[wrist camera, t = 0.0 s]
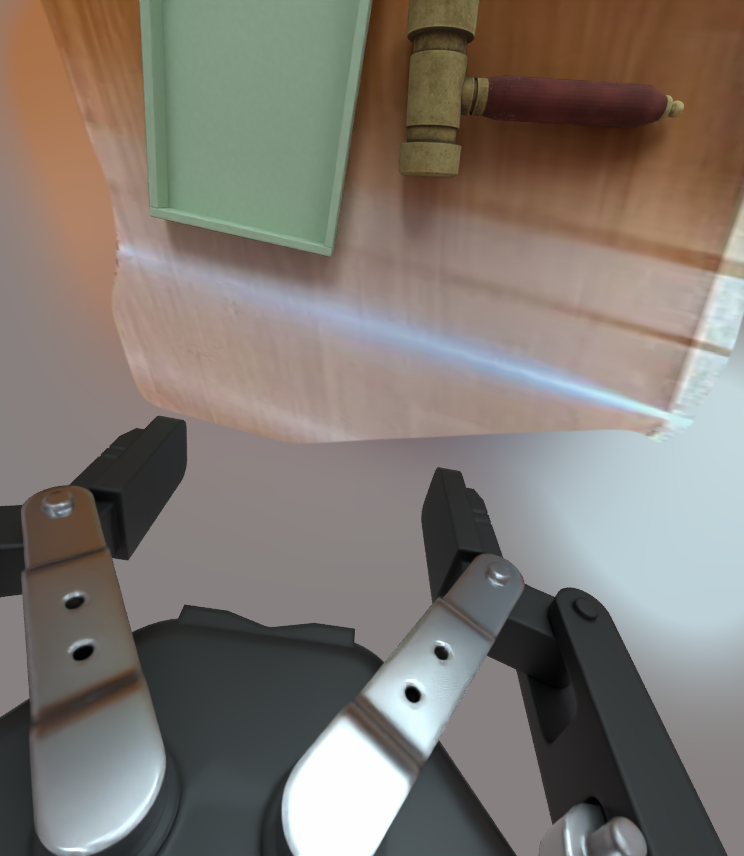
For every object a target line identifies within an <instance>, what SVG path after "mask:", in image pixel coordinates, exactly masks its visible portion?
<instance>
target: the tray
mask: <svg viewBox="0 0 744 856" xmlns="http://www.w3.org/2000/svg"><path fill="white" fill-rule="evenodd" d="M372 1H373V0H139V3H140V23H141V43H142V64H143V84H144V105H145V125H146V145H147V166H148V186H149V206H150V216H152V217H156V218H161V219H165V220H169V221H174V222H178V223H183V224H187V225H192V226H196V227H200V228H205V229H209V230H214V231H218V232H222V233H227V234H231V235H236V236H240V237H245V238H249V239H253V240H258V241H262V242H267V243H271V244H275V245H280V246H284V247H289V248H293V249H298V250H302V251H306V252H311V253H315V254H320V255H324V256H329V257H331V256H332V254H333V253H334V248H335V241H336V235H337V228H338V222H339V215H340V209H341V202H342V196H343V189H344V183H345V176H346V170H347V163H348V157H349V150H350V144H351V137H352V131H353V124H354V118H355V111H356V105H357V98H358V92H359V85H360V79H361V72H362V66H363V59H364V53H365V46H366V40H367V33H368V27H369V20H370V14H371V7H372Z"/></svg>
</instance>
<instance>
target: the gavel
mask: <svg viewBox="0 0 744 856" xmlns="http://www.w3.org/2000/svg"><path fill="white" fill-rule="evenodd" d="M478 6H479V0H409V15H408V31H407V38H408V40H410V41H411V42H413V43H414V44H413V55H411V56H410V70H409V85H408V101H407V116H406V128H408V133H407V143H402V144H401V145H400V161H399V172H400V173H401V174H402V175H412V176H431V177H455V176H456V175H457V174H458V170H459V162H460V154H461V146H459V145H455V142H456V134H457V130H459V127H460V118H461V115H468V113H469V112H470V115H479V116H484V117H487V118H491V119H494V120H505V121H522V122H539V123H556V124H573V125H590V126H607V127H625V128H637V127H640V126H643V125H646V124H649V123H652V122H655V121H662V120H663V119H665V118H666V117H667V116H668V117H671V118H673V117H676V116H678V115H680V114H681V112H682V110H683V107H684V104H683V103H682V102H681V101H674V102H673V99H672V97H671V96H670V95H665V94H663V93H662V92H660V91H659V90H657V89H655V88H654V87H652V86H650V85H639V84H624V83H609V82H594V81H579V80H564V79H549V78H533V77H518V76H499V77H492V78H476V79H475V80H474V78H473V77H467V76H466V67H467V56H466V47H467V44H468V43H470V42H472V41H473V40H474V38H475V31H476V23H477V15H478Z"/></svg>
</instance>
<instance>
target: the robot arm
mask: <svg viewBox="0 0 744 856" xmlns="http://www.w3.org/2000/svg"><path fill="white" fill-rule="evenodd" d="M186 430H187V429H186V422H185V421H184V420H180V419H174V418H169V417H164V416H157V417H156V418H155V419H154V420H153V421H152V422H151V423H150V424H149V425H148V426H147V427H146V428H145V429H139V428H136V429H134V430H131V431H129V432H127V433H125V434H123V435H121V436H119V437H118V438H117V439H116V440H115V441H114V442H113V443H112V444H111V445H110V447H109V448H107V449H106V450H105V451H104V452H103V453H102V454H101V456H100V457H98V458H97V459H96V460H95V461H94V462H93V463H91V464H90V465H89V467H87V468H86V469H85V470H84V471H83V472H82V473H81V474H80V475H79V476H78V477H77V478H76V479H75V480H74V481H73V482H72V483H71V484H70V485H66V486H57V487H52V488H49V489H46V490H43V491H40V492H38V493H36V494H34V495H33V496H32V497H30V498H29V499H28V500H27V501H26V502H25V503H24V504H23V505H16V506H0V597H5V596H13V595H21V594H22V595H23V610H24V624H25V638H26V653H27V668H28V682H29V696H30V698H29V699H28V700H26V701H24V702H23V703H21V704H20V705H18V706H17V707H15V708H14V709H12V710H11V711H9V712H8V713H6V714H5V715H3V716H1V717H0V856H517V855H516V854H515V852H514V851H513V850H512V848H511V847H510V845H509V844H508V842H507V841H506V839H505V838H504V836H503V835H502V833H501V832H500V830H499V829H498V827H497V826H496V824H495V823H494V821H493V820H492V818H491V817H490V815H489V814H488V812H487V811H486V809H485V808H484V806H483V805H482V803H481V802H480V800H479V799H478V797H477V796H476V794H475V793H474V792H473V790H472V789H471V787H470V786H469V784H468V783H467V781H466V780H465V778H464V777H463V775H462V774H461V772H460V771H459V769H458V768H457V766H456V765H455V763H454V762H453V760H452V759H451V757H450V756H449V754H448V753H447V751H446V750H445V748H444V747H443V745H442V744H441V742H440V741H439V738H440V737H441V735H442V733H443V731H444V729H445V728H446V726H447V724H448V722H449V720H450V719H451V717H452V715H453V714H454V712H455V710H456V708H457V707H458V704H459V703H460V701H461V699H462V698H463V696H464V694H465V692H466V691H467V689H468V687H469V686H470V684H471V682H472V680H473V678H474V677H475V675H476V673H477V671H478V670H479V668H480V666H481V664H482V663H483V661H484V659H485V657H486V656H489V657H491V658H493V659H495V660H497V661H499V662H502V663H504V664H506V665H508V666H510V667H512V668H514V669H516V671H517V675H518V679H519V683H520V688H521V692H522V696H523V701H524V705H525V709H526V713H527V718H528V722H529V726H530V730H531V735H532V739H533V743H534V748H535V752H536V756H537V760H538V765H539V769H540V773H541V778H542V782H543V786H544V790H545V795H546V799H547V803H548V807H549V811H550V816H551V820H552V826H551V827H550V828H549V829H548V830H547V831H546V832H545V834H544V835H543V837H542V840H541V842H540V847H539V856H727V854H726V852H725V849H724V847H723V845H722V843H721V841H720V839H719V837H718V835H717V833H716V831H715V829H714V827H713V825H712V823H711V821H710V819H709V817H708V815H707V813H706V811H705V808H704V806H703V805H702V802H701V800H700V798H699V797H698V794H697V792H696V790H695V788H694V786H693V784H692V782H691V780H690V778H689V776H688V774H687V772H686V770H685V767H684V765H683V763H682V762H681V759H680V757H679V755H678V753H677V751H676V749H675V747H674V745H673V743H672V741H671V739H670V737H669V735H668V733H667V731H666V729H665V727H664V725H663V723H662V720H661V718H660V716H659V714H658V712H657V710H656V708H655V706H654V704H653V702H652V700H651V698H650V696H649V694H648V692H647V690H646V688H645V686H644V684H643V682H642V679H641V678H640V675H639V673H638V671H637V670H636V667H635V665H634V663H633V661H632V659H631V657H630V655H629V653H628V651H627V649H626V647H625V645H624V643H623V640H622V638H621V637H620V634H619V632H618V630H617V628H616V626H615V624H614V622H613V620H612V618H611V616H610V614H609V612H608V611H607V610H606V608H605V607H604V606H603V605H602V604H601V603H600V602H599V601H598V600H597V599H595V598H594V597H593V596H591V595H590V594H588V593H586V592H584V591H582V590H579V589H576V588H563V589H561V590H560V591H559V592H558V593H557V595H556V596H555V597H553V596H551V595H549V594H546V593H544V592H541V591H539V590H537V589H535V588H532V587H530V586H528V585H527V584H525V583H524V580H523V577H522V575H521V573H520V572H519V570H518V569H517V568H516V567H515V566H514V565H513V564H512V563H511V562H509V561H508V560H506V559H504V558H503V556H502V553H501V550H500V547H499V544H498V541H497V539H496V536H495V533H494V530H493V527H492V525H491V521H490V518H489V515H487V509H486V506H485V503H484V501H483V499H482V498H481V497H480V496H479V495H478V494H477V492H476V491H475V490H474V489H470V488H466V486H465V483H464V479H463V476H462V473H461V472H460V471H456V470H450V469H445V468H440V467H438V468H437V469H436V471H435V473H434V476H433V478H432V481H431V484H430V487H429V490H428V493H427V495H426V498H425V501H424V504H423V508H422V518H421V520H422V521H421V522H422V529H423V537H424V545H425V552H426V558H427V567H428V574H429V582H430V589H431V597H432V605H431V606H430V607H429V609H428V610H427V611H426V612H425V614H424V615H423V616H422V617H421V618H420V620H419V621H418V622H417V623H416V625H415V626H414V627H413V628H412V629H411V631H410V632H409V633H408V634H407V636H406V637H405V638H404V639H403V640H402V642H401V643H400V644H399V645H398V647H397V648H396V649H395V650H394V651H393V653H392V654H391V655H390V656H389V658H388V659H387V660H386V661H385V662H383V661H382V660H381V659H380V658H379V657H378V656H377V655H375V654H374V653H372V652H371V651H370V650H368V649H366V648H365V647H363V646H361V645H359V644H356V643H354V636H355V629H353V628H346V627H339V626H332V625H325V624H318V623H310V624H300V625H289V626H279V627H267V626H264V625H261V624H259V623H256V622H254V621H251V620H249V619H247V618H244V617H242V616H239V615H237V614H234V613H232V612H229V611H225V610H218V609H212V608H205V607H197V606H190V605H184V607H183V609H182V611H181V613H180V616H179V618H178V619H170V620H165V621H160V622H157V623H154V624H151V625H148V626H145V627H143V628H140V629H138V630H136V631H134V632H132V631H131V627H130V624H129V620H128V616H127V613H126V609H125V605H124V601H123V597H122V594H121V590H120V586H119V583H118V579H117V575H116V571H115V568H114V564H113V560H112V558H116V559H122V560H129V558H130V557H131V555H132V554H133V553H134V551H135V549H136V548H137V547H138V545H139V543H140V542H141V540H142V539H143V537H144V536H145V534H146V533H147V532H148V530H149V529H150V527H151V525H152V524H153V523H154V521H155V520H156V518H157V516H158V515H159V514H160V512H161V511H162V509H163V508H164V506H165V505H166V503H167V502H168V500H169V499H170V497H171V496H172V494H173V493H174V491H175V490H176V488H177V487H178V485H179V484H180V482H181V481H182V479H183V476H184V474H185V470H186V465H187V433H186V432H187V431H186Z"/></svg>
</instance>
